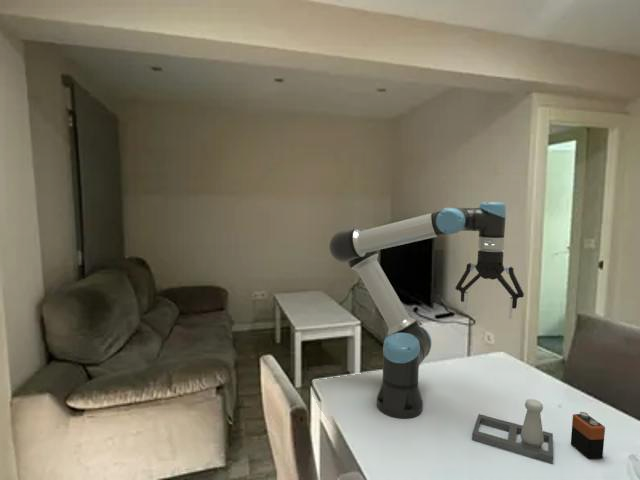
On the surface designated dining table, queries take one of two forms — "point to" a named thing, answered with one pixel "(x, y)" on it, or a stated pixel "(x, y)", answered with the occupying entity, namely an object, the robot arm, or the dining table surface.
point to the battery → (587, 435)
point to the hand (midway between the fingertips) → (487, 314)
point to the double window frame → (511, 439)
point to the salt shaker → (532, 424)
